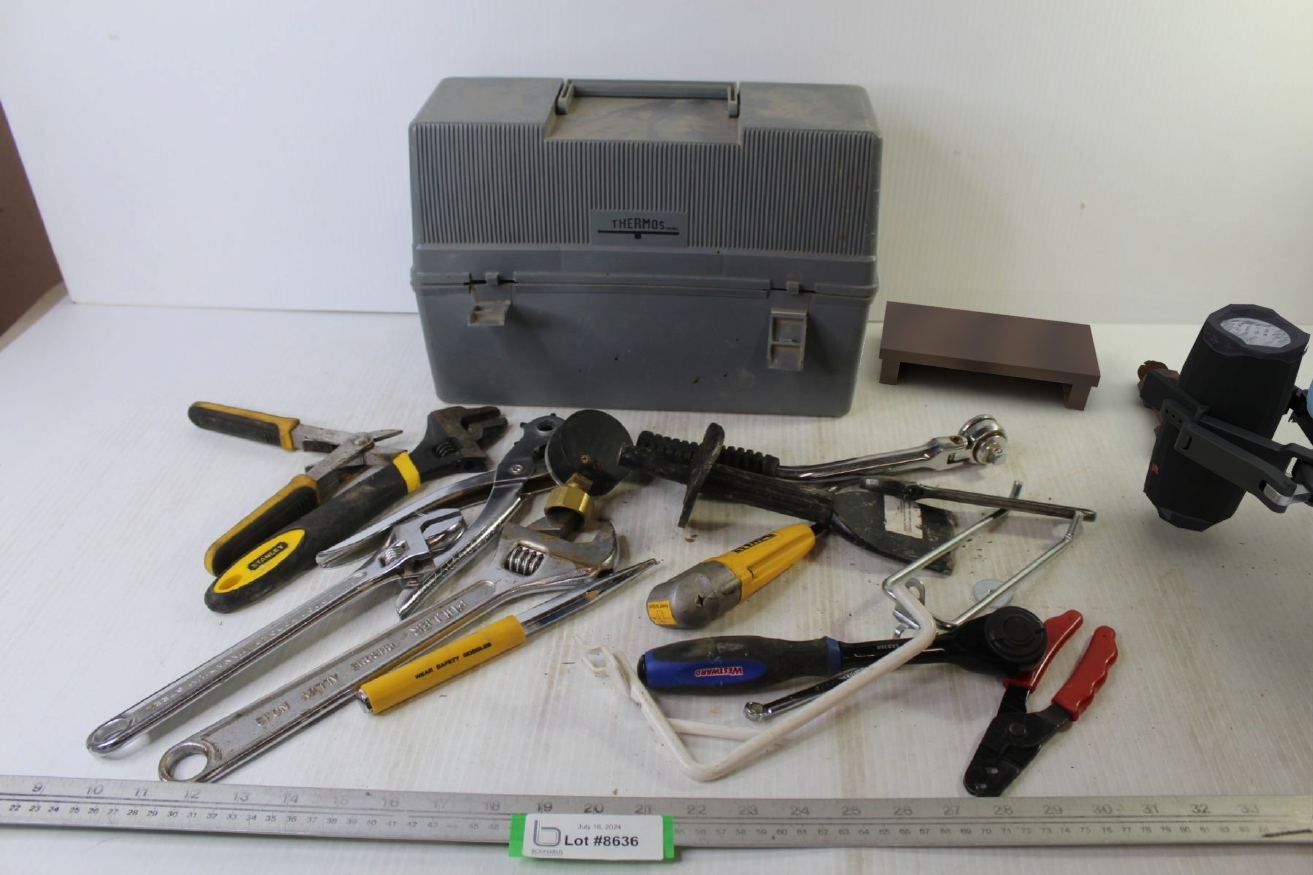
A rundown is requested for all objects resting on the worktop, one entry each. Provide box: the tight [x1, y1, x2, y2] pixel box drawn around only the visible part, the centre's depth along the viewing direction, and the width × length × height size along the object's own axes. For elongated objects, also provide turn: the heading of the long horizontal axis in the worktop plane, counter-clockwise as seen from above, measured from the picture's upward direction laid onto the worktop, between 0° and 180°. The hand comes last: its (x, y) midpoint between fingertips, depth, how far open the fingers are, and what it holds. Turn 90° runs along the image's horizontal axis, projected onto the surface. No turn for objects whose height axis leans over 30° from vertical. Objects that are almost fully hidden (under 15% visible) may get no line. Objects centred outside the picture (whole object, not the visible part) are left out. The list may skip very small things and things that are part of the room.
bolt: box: [1136, 359, 1180, 437], centre depth 107 cm, size 6×5×15 cm
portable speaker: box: [1142, 303, 1311, 533], centre depth 86 cm, size 9×9×20 cm
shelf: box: [878, 300, 1102, 411], centre depth 115 cm, size 24×12×5 cm, turn 75°
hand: (1190, 374), depth 88 cm, fingers closed on portable speaker, 9 cm apart
